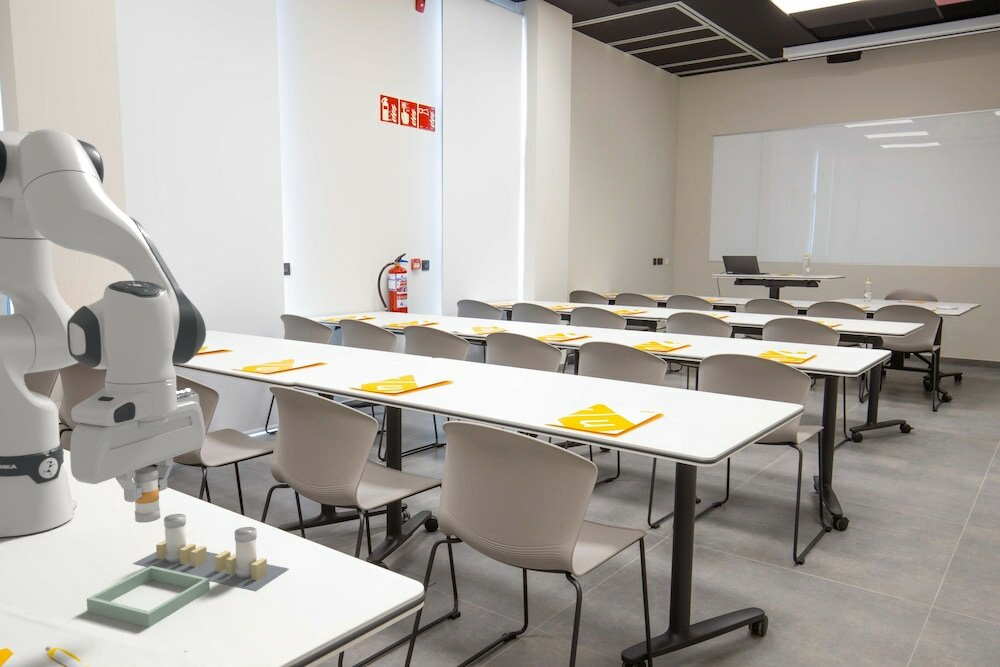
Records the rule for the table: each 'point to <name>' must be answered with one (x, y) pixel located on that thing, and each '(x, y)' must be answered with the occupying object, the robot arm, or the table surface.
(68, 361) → the robot arm
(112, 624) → the table surface
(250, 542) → the outer fuse
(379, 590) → the table surface
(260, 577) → the fuse holder
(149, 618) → the parts tray
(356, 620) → the table surface
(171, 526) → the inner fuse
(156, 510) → the marked fuse
